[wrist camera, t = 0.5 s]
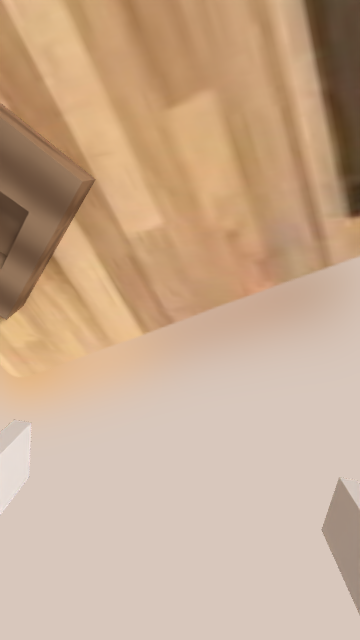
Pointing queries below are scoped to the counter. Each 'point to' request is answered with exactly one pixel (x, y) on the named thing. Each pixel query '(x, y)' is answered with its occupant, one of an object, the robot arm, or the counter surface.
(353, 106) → the counter surface
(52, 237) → the stand
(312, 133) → the counter surface
